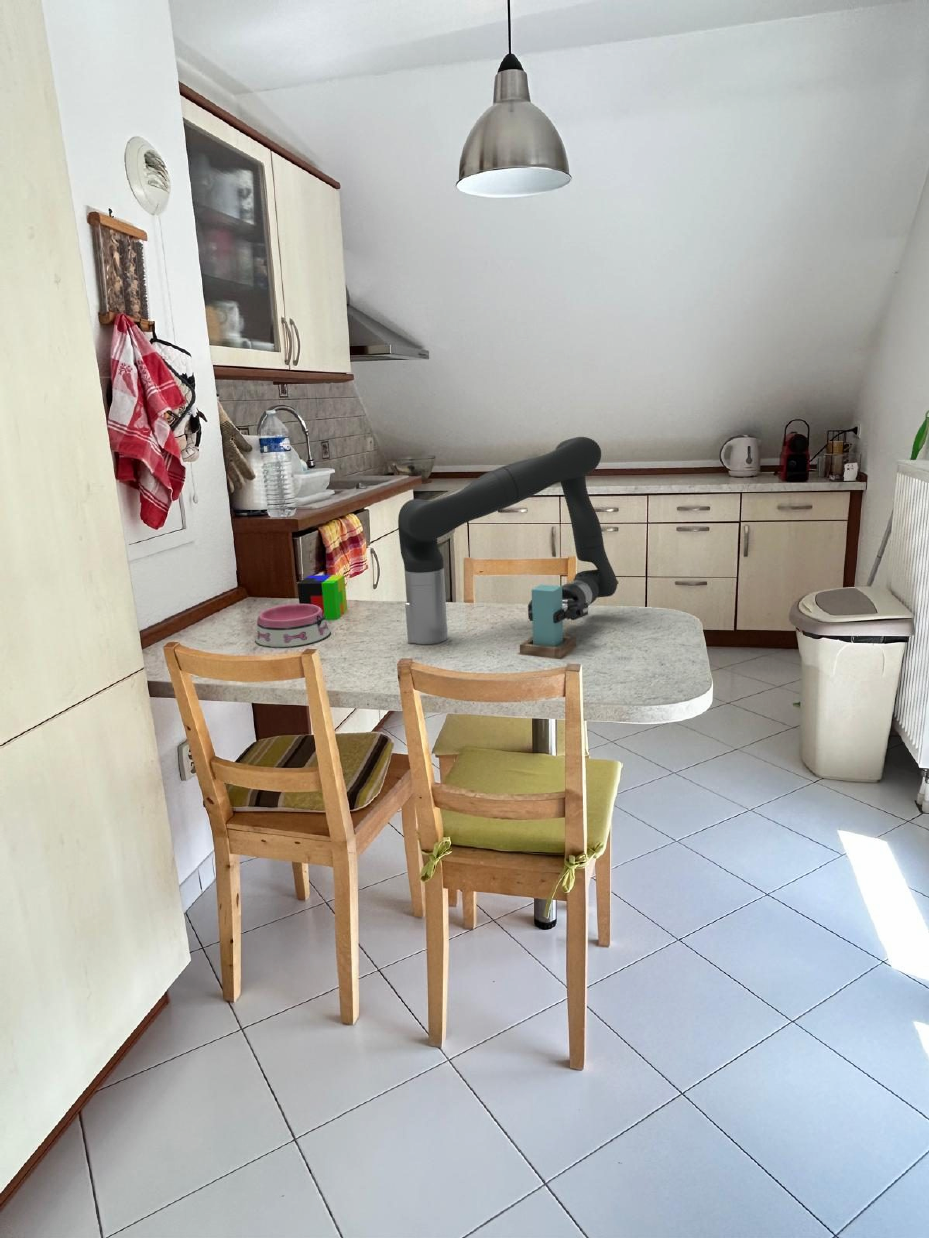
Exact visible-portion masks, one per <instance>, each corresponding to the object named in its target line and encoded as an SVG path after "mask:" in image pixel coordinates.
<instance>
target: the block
mask: <svg viewBox="0 0 929 1238" xmlns="http://www.w3.org/2000/svg"><path fill="white" fill-rule="evenodd" d="M562 586H563V585H552V584H551V585H550V584H539V585H537V586H536V587H534V588H532V589H531V600H532V614H533V621H531V622H532V636H533V645H541V646H551V647H558V646H559V645H560V644H562V643H563V636H564V632H563V630H564V629H563V628H564V627H563V626H564V625H563V621H564V620H562V621H560V622H558V623H553V614H554V613H555V612H557V611H558V610H562Z"/></svg>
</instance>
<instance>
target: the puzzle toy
mask: <svg viewBox="0 0 929 1238" xmlns="http://www.w3.org/2000/svg"><path fill="white" fill-rule="evenodd" d="M345 579H346V578H345V574H327V575H326V574H325V575H324V574H322V575H321V574H320V575H318V574H315V575H309V574H308V576H306V577H305V578H303V579H302V580H300V581H299V582H298V583H297V587H296V588H297V594H298V604H311V605H316V606H318V607H320V608H321V609H322V611H323V614H324V615H325V618H326V621H328V620H331V621H332V620H333V621H335V620H336V621H337V620H339V619H340V617H342V616H343V614H345V613H346V612H347V611H348V602H347V591H346V590H347V589H346V580H345Z"/></svg>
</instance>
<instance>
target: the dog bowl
mask: <svg viewBox="0 0 929 1238" xmlns="http://www.w3.org/2000/svg"><path fill="white" fill-rule="evenodd" d="M255 633H256V634H255V638H254V643H255V644H256V645H257V646H260V647H263V648H267V649H268V648H269V649H290V648H291V649H292V648H299V647H306V646H312V645H314V644H318V643H320V642H323V641H325V640H327V639H328V638H329V637H330V636H331V634H332V632H331V629H330V628H329V624H328V622H327V620H326V618H325V615H324V614H323V611H322V609H321V608H320V607H318V606H316V605H311V604H299V603H291V604H284V605H282V604H281V605H279V606H273V607H270V608H266V609H264V610H263V611H261V612H260V613H259V614H258V617H257V621H256V632H255Z"/></svg>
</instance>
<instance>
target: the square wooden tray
mask: <svg viewBox="0 0 929 1238" xmlns="http://www.w3.org/2000/svg"><path fill="white" fill-rule="evenodd" d="M578 647H579V645H578V644H577V637H576V636H567V635H563V643H562V644H560V645H559V646H558V647H551V646H541V645H533V635H532V636H531V637H529V638H528V639H527V640H525V641H523V642H522V643H521V644H519V652H518V653H517V655H519V656H520V655H521V656H529V657H537V658H546V659H555V660H562V659H564V658H565V657H567V655H569V654H570V653H572V652H573V651H574V650H575V649H576V648H578Z"/></svg>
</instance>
